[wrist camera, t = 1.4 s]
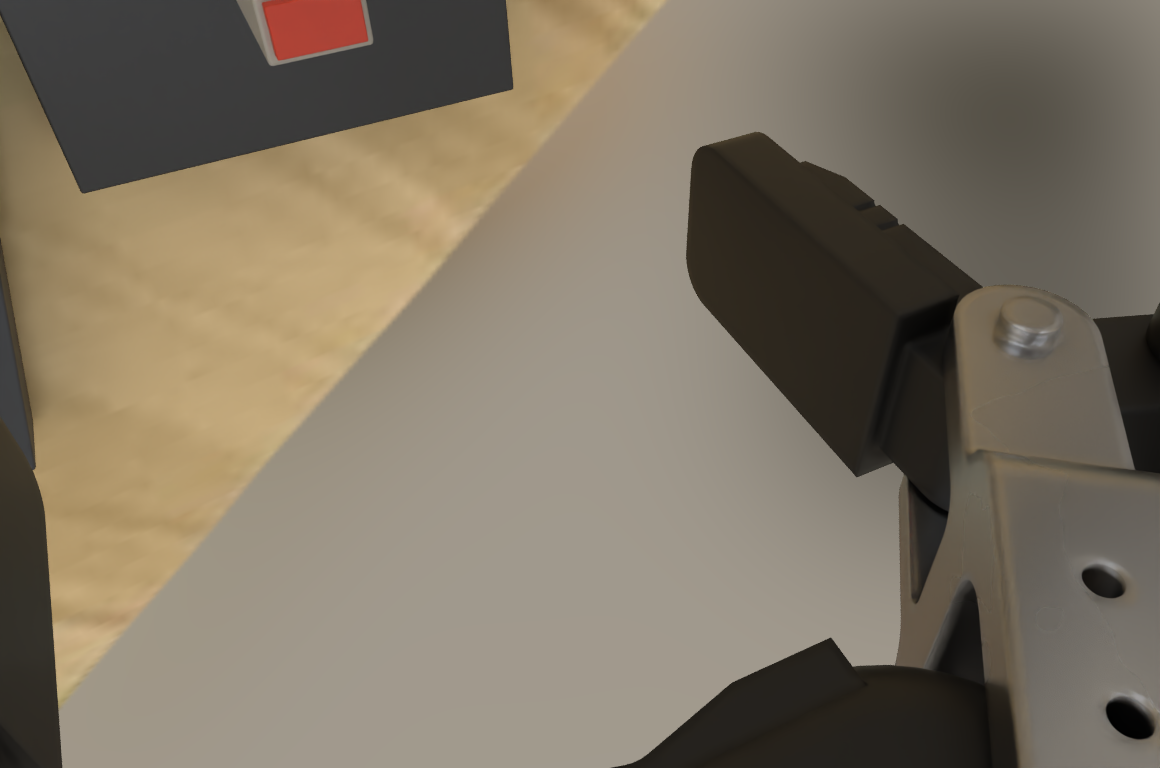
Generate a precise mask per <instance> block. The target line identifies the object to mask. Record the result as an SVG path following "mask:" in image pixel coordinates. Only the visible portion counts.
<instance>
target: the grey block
mask: <svg viewBox="0 0 1160 768" xmlns="http://www.w3.org/2000/svg"><path fill="white" fill-rule="evenodd" d="M236 1H237V3H238V5H239V7H240V9H241V11H242V13H243V15H244V16H245V18H246V20H247V22H248V24H249V26H250V28H251V30H252V32H253V34H254V36H255V38H256V40H257V42H258V44H259V46H260V48H261V50H262V52H263V54H264V56H265V58H266V60H267V62H268V63H269V65H271V66H276V65H280V64H285V63H289V62H294V61H298V60H303V59H308V58H312V57H317V56H321V55H326V54H330V53H335V52H339V51H344V50H349V49H353V48H358V47H362V46H367V45H371V44H373V35H372V30H371V24H370V19H369V14H368V8H367V3H366V0H236Z"/></svg>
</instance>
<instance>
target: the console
mask: <svg viewBox="0 0 1160 768" xmlns="http://www.w3.org/2000/svg"><path fill="white" fill-rule="evenodd" d="M366 3H367V8H368V14H369V19H370V24H371V30H372V35H373V44H371V45H367V46H362V47H358V48H353V49H349V50H344V51H339V52H335V53H330V54H326V55H321V56H317V57H312V58H308V59H303V60H298V61H294V62H289V63H285V64H280V65H276V66H271V65H269V63H268V62H267V60H266V58H265V56H264V54H263V52H262V50H261V48H260V46H259V44H258V42H257V40H256V38H255V36H254V34H253V32H252V30H251V28H250V26H249V24H248V22H247V20H246V18H245V16H244V15H243V13H242V11H241V9H240V7H239V5H238V3H237V1H236V0H0V15H1V17H2V20H3V22H4V24H5V26H6V28H7V31H8V33H9V35H10V37H11V39H12V42H13V44H14V46H15V48H16V50H17V53H18V55H19V57H20V59H21V61H22V64H23V66H24V68H25V70H26V72H27V75H28V77H29V79H30V81H31V83H32V86H33V88H34V90H35V92H36V94H37V97H38V99H39V101H40V103H41V105H42V108H43V110H44V112H45V114H46V116H47V118H48V121H49V123H50V125H51V127H52V129H53V132H54V134H55V136H56V138H57V140H58V143H59V145H60V147H61V149H62V151H63V154H64V156H65V158H66V160H67V162H68V165H69V167H70V169H71V171H72V173H73V176H74V178H75V180H76V182H77V184H78V187H79V189H80V191H81V192H82V193H87V192H92V191H96V190H100V189H104V188H108V187H112V186H116V185H120V184H125V183H129V182H133V181H137V180H141V179H145V178H149V177H153V176H158V175H162V174H166V173H170V172H174V171H178V170H182V169H186V168H190V167H195V166H199V165H203V164H207V163H211V162H215V161H219V160H223V159H228V158H232V157H236V156H240V155H244V154H248V153H252V152H256V151H261V150H265V149H269V148H273V147H277V146H281V145H285V144H289V143H294V142H298V141H302V140H306V139H310V138H314V137H318V136H322V135H326V134H331V133H335V132H339V131H343V130H347V129H351V128H355V127H359V126H364V125H368V124H372V123H376V122H380V121H384V120H388V119H392V118H397V117H401V116H405V115H409V114H413V113H417V112H421V111H425V110H430V109H434V108H438V107H442V106H446V105H450V104H454V103H458V102H462V101H467V100H471V99H475V98H479V97H483V96H487V95H491V94H495V93H500V92H504V91H508V90H512V89H513V77H512V66H511V54H510V43H509V31H508V19H507V8H506V0H366Z"/></svg>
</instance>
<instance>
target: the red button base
mask: <svg viewBox="0 0 1160 768" xmlns="http://www.w3.org/2000/svg"><path fill="white" fill-rule="evenodd" d="M0 417H1V418H2V420H3V421H4V423H5V425H6V426H7V428H8V429H9V431H10V432H11V434H12V436H13V437H14V439H15V440H16V442H17V444H18V445H19V447H20V448H21V450H22V451H23V453H24V455H25V456H26V458H27V460H28V462H29V464H30V466H31V468H32V470H34V469H35V467H36V463H35V447H34V431H33V419H32V413H31V408H30V402H29V397H28V391H27V385H26V380H25V374H24V369H23V363H22V357H21V352H20V346H19V341H18V335H17V329H16V324H15V318H14V312H13V307H12V301H11V296H10V290H9V284H8V279H7V273H6V268H5V262H4V256H3V251H2V245H1V240H0Z"/></svg>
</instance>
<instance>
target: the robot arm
mask: <svg viewBox="0 0 1160 768" xmlns="http://www.w3.org/2000/svg"><path fill="white" fill-rule="evenodd" d="M688 217H689V218H688V233H687V250H686V259H687V268H688V273H689V277H690V280H691V283H692V285H693V288H694V290H695V292H696V294H697V296H698V297H699V299H700V301H701V302H702V303H703V304H704V306H705V307H706V308H707V309H708V310H709V311H710V312H711V314H712V315H713V316H714V317H715V318H716V319H717V320H718V321H719V322H720V323H721V325H722V326H723V327H724V328H725V329H726V330H727V332H728V333H729V334H730V335H731V336H732V337H733V338H734V339H735V341H736V342H737V343H738V344H739V345H740V346H741V347H742V348H743V350H744V351H745V352H746V353H747V354H748V355H749V356H750V357H751V359H752V360H753V361H754V362H755V363H756V364H757V365H758V367H759V368H760V369H761V370H762V371H763V372H764V373H765V374H766V375H767V376H768V378H769V379H770V380H771V381H772V382H773V383H774V385H775V386H776V387H777V388H778V389H779V390H780V391H781V392H782V393H783V395H784V396H785V397H786V398H787V399H788V400H789V401H790V402H791V404H792V405H793V406H794V407H795V408H796V409H797V410H798V412H799V413H800V414H801V415H802V416H803V417H804V418H805V419H806V421H807V422H808V423H809V424H810V425H811V426H812V427H813V428H814V430H815V431H816V432H817V433H818V434H819V435H820V436H821V437H822V438H823V440H824V441H825V442H826V443H827V444H828V445H829V446H830V448H831V449H832V450H833V451H834V452H835V453H836V454H837V456H838V457H839V458H840V459H841V460H842V461H843V462H844V463H845V465H846V466H847V467H848V468H849V469H850V470H851V471H852V472H853V474H854V475H855V476H856V477H859V476H861V475H864V474H866V473H869V472H871V471H873V470H876V469H879V468H881V467H884V466H886V465H888V464H891V463H894V464H895V465H896V466H897V467H898V468H899V469H900V470H901V471H902V472H903V473H904V476H903V479H902V482H901V485H900V489H899V535H900V536H899V537H900V538H899V539H900V592H901V594H900V596H901V629H900V630H901V631H900V641H899V648H898V653H897V658H896V663H895V666H894V665H875V666H856V667H852V665H851V664H850V663H849V661H848V660H847V659H846V657H845V656H844V655H843V653H842V652H841V650H840V649H839V648H838V646H837V645H836V644H835V642H834V641H833V640H832V638H829V639H827V640H824V641H822V642H820V643H818V644H816V645H813V646H811V647H809V648H807V649H805V650H803V651H800V652H798V653H796V654H794V655H792V656H789V657H787V658H785V659H783V660H781V661H779V662H776V663H774V664H772V665H770V666H768V667H765V668H763V669H761V670H759V671H757V672H754V673H752V674H750V675H748V676H746V677H743V678H741V679H739V680H737V681H735V682H733V683H731V684H730V685H729V686H728V687H726V688H725V689H724V690H723V691H722V692H720V693H719V694H718V695H717V696H716V697H715V698H713V699H712V700H711V701H710V702H709V703H708V704H706V706H704V707H703V708H702V709H700V710H699V711H698V712H697V713H696V714H695V715H693V716H692V717H691V718H690V719H689V720H688V721H686V722H685V723H684V724H683V725H682V726H680V727H679V728H678V729H677V730H676V731H675V732H673V733H672V734H671V735H670V736H669V737H668V738H666V739H665V740H664V741H663V742H662V743H660V744H659V745H658V746H657V747H656V748H655V749H653V750H652V751H651V752H650V753H649V754H647V755H646V756H645V757H643V758H642V759H640V760H638V761H636V762H634V763H631V764H627V765H624V766H618V767H613V768H1160V303H1159V306H1158V307H1157V309H1156V311H1155V313H1154V314H1151V315H1138V316H1125V317H1111V318H1099V319H1091V317H1089V315H1088V314H1087V313H1086V312H1084V311H1083V310H1082V309H1080V308H1079V307H1078V306H1077V305H1075V304H1073V303H1072V302H1070V301H1068V300H1067V299H1065V298H1063V297H1060V296H1058V295H1056V294H1053V293H1051V292H1048V291H1045V290H1041V289H1037V288H1033V287H1027V286H1021V285H994V286H988V287H984V288H983V287H982V286H981V285H979V284H978V283H977V282H976V281H974V280H973V279H972V278H971V277H969V276H968V275H967V274H966V273H964V272H963V271H962V270H961V269H959V268H958V267H957V266H955V265H954V264H953V263H952V262H951V261H949V260H948V259H947V258H946V257H944V256H943V255H942V254H941V253H939V252H938V251H937V250H936V249H934V248H933V247H932V246H931V245H929V244H928V243H927V242H926V241H924V240H923V239H922V238H921V237H919V236H918V235H917V234H916V233H914V232H913V231H912V230H911V229H909V228H908V227H907V226H906V225H904V224H902V225H899V224H898V220H897V218H896V217H894V216H893V215H892V214H890V213H889V212H888V211H887V210H886V209H884V208H883V207H882V206H881V205H878V206H875V204H874V200H873V199H872V198H870V197H869V196H868V195H867V194H866V193H864V192H863V191H862V190H860V189H859V188H858V187H857V186H855V185H854V184H853V183H852V182H850V181H849V180H848V179H847V178H845V177H843V176H841V175H838V174H836V173H833V172H831V171H828V170H826V169H824V168H821V167H818V166H816V165H814V164H811V163H809V162H806V161H805V162H801V163H799V162H798V161H797V160H796V159H795V158H793V157H792V156H791V155H790V154H788V153H787V152H786V151H785V150H784V149H782V148H781V147H780V146H779V145H778V144H776V143H775V142H774V141H773V140H772V139H770V138H769V137H768V136H766V135H765V134H763V133H760V132H754V133H750V134H746V135H743V136H739V137H736V138H732V139H728V140H724V141H721V142H717V143H713V144H710V145H706V146H702V147H700V148H699V149H698V150H697V151H696V153H695V155H694V157H693V161H692V168H691V183H690V200H689V216H688ZM0 768H62V758H61V742H60V728H59V713H58V698H57V684H56V669H55V655H54V640H53V626H52V611H51V597H50V582H49V568H48V553H47V539H46V524H45V512H44V506H43V501H42V497H41V493H40V490H39V486H38V484H37V481H36V478H35V475H34V473H33V471H32V468H31V466H30V464H29V462H28V460H27V458H26V456H25V455H24V453H23V451H22V450H21V448H20V447H19V445H18V444H17V442H16V440H15V439H14V437H13V436H12V434H11V432H10V431H9V429H8V428H7V426H6V425H5V423H4V421H3V420H2V418H1V417H0Z"/></svg>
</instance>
